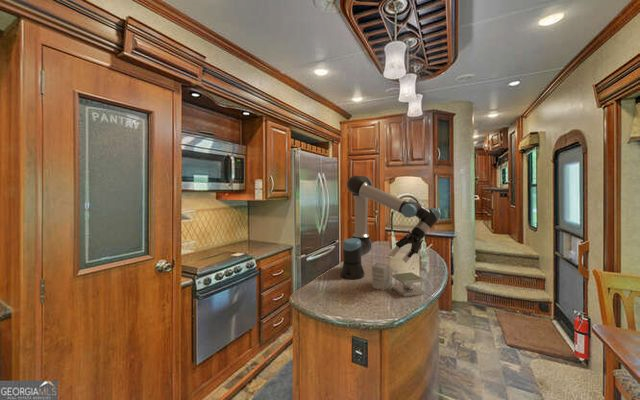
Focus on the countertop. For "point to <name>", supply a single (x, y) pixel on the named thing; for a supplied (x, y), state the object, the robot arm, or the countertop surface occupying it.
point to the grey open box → (408, 284)
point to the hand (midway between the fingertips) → (397, 258)
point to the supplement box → (380, 276)
